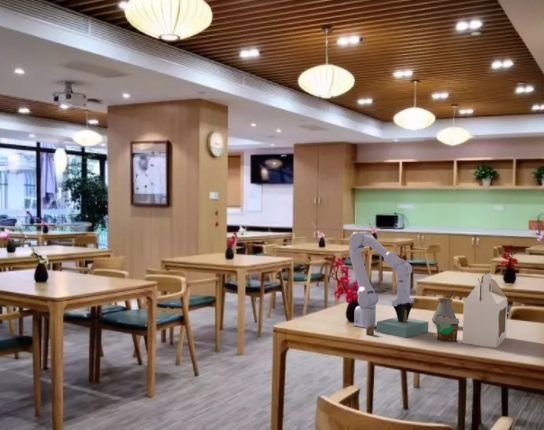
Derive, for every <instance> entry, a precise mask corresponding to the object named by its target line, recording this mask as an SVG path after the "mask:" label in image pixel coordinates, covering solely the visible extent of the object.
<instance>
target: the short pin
mask: <svg viewBox="0 0 544 430" xmlns="http://www.w3.org/2000/svg"><path fill="white" fill-rule="evenodd" d="M365 331H366V332H365V334H366V336H370V337H371V336H372V337H373V336H374V335H375V332H374V331H375V327H374V325H366V329H365Z"/></svg>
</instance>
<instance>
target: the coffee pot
mask: <svg viewBox="0 0 544 430" xmlns="http://www.w3.org/2000/svg"><path fill="white" fill-rule="evenodd" d="M454 293H455V291H454V290H451V291H450V292H449V294H448V297H438V298H437V300H438V304H437V305H438V306H437V308H436V309H435V312H434V313H433V316H432V318H431V322H432V323H433V324H434V325H435V327H437V324H436V321H435V316H436V315H437V314H442V316H444V317H450V318H452V319H457V317H456V314H455V311H454V309H453V307H452V302H453V298H452V296H453V295H454Z"/></svg>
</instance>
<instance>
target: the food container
mask: <svg viewBox="0 0 544 430" xmlns="http://www.w3.org/2000/svg"><path fill="white" fill-rule="evenodd" d="M435 321H436V324H437V326H436V339H437V340H438V341H441V342H445V343H457V341H458V332H459V331H458V329H459V325H460V319H459V318H456V319H452V318H450V317H444V316H442V314H437V315H436V316H435Z"/></svg>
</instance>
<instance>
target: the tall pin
mask: <svg viewBox="0 0 544 430" xmlns="http://www.w3.org/2000/svg"><path fill="white" fill-rule="evenodd" d="M399 322H401V323H407V310H406V309H405V311H404V318H403V321H399Z"/></svg>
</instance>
